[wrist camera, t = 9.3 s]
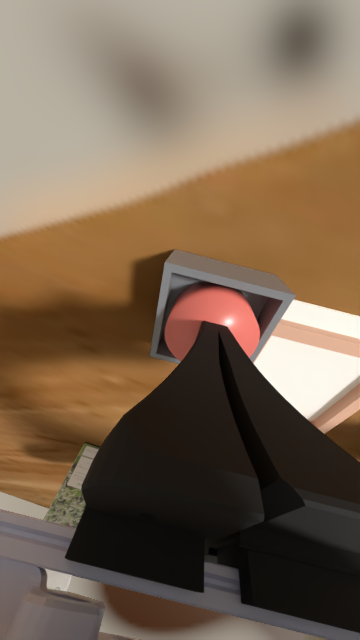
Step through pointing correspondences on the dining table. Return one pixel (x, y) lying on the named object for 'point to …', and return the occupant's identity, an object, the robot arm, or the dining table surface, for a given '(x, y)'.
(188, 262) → the button base
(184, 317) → the button
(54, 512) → the syrup box
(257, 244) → the dining table surface
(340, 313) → the sheet
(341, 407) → the region terracotta
